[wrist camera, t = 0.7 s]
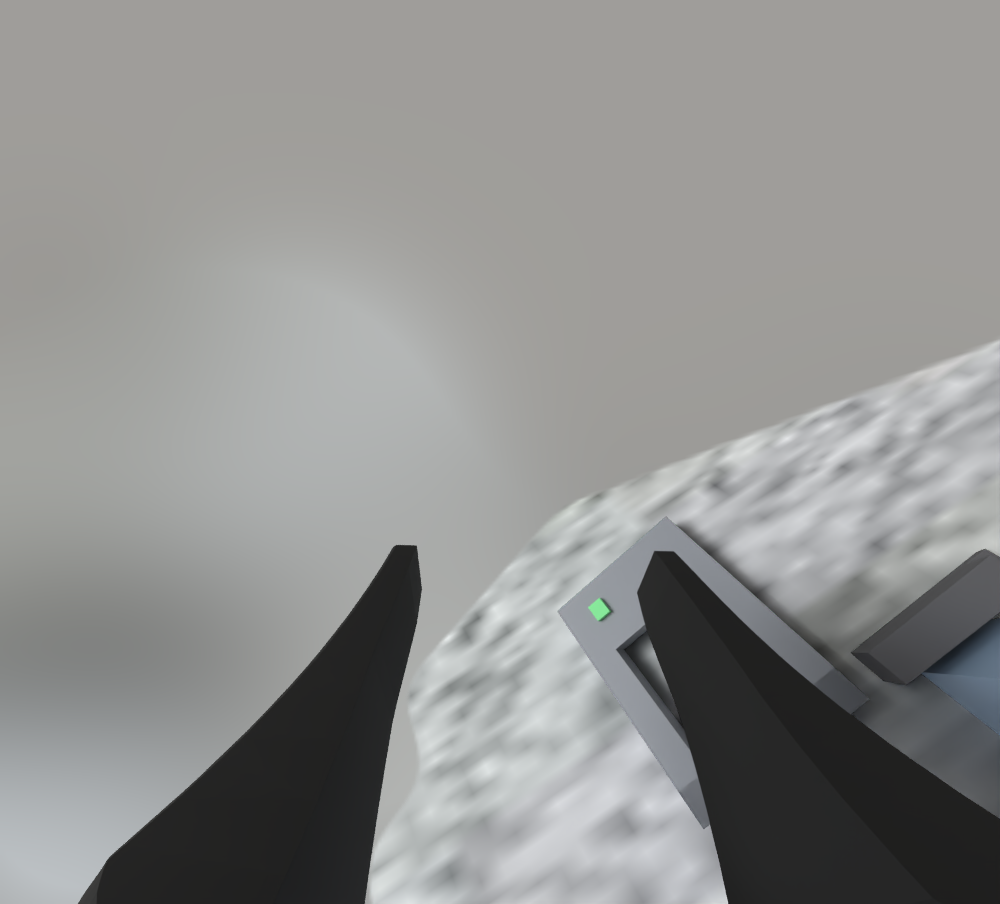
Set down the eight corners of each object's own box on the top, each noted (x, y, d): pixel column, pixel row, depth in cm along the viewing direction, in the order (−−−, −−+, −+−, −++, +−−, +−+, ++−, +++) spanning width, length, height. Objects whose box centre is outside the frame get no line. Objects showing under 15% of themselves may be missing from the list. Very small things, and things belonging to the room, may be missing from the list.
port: (854, 694, 18) (873, 700, 16) (705, 812, 19) (703, 833, 17) (670, 526, 26) (665, 514, 24) (568, 614, 27) (554, 610, 24)
